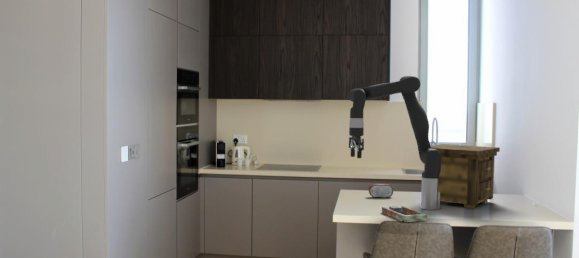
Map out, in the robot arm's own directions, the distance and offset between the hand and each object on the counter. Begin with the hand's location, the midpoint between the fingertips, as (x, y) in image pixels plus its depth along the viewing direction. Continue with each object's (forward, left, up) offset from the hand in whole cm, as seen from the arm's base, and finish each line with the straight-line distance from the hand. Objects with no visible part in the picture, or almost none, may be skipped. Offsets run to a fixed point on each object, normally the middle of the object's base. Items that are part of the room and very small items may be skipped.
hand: (355, 157), depth 302 cm
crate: (-72, -13, -29) cm, 79 cm away
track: (-20, +17, -29) cm, 39 cm away
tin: (-35, -40, -29) cm, 61 cm away
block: (-20, +8, -29) cm, 36 cm away
